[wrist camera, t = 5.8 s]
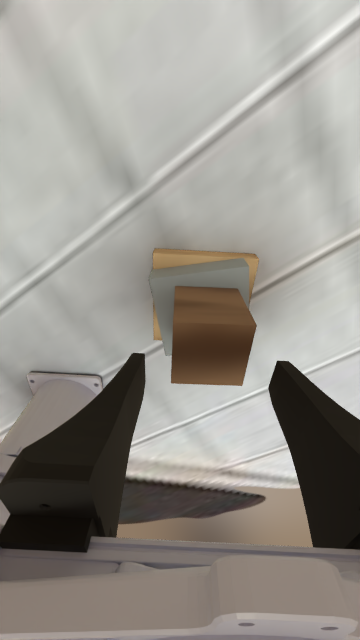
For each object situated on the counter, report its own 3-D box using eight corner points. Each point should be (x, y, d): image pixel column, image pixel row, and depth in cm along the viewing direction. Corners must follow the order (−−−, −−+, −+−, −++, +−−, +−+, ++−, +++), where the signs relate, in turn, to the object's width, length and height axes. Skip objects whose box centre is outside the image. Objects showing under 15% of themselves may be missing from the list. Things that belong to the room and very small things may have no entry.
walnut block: (228, 339, 20) (242, 385, 15) (173, 337, 19) (170, 383, 15) (237, 288, 17) (256, 325, 13) (175, 285, 17) (172, 322, 13)
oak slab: (236, 332, 24) (240, 344, 22) (156, 328, 24) (153, 339, 22) (252, 251, 20) (259, 259, 18) (155, 246, 20) (152, 253, 18)
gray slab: (243, 334, 22) (248, 347, 20) (167, 342, 22) (165, 355, 21) (243, 257, 18) (249, 266, 16) (152, 269, 19) (148, 279, 17)
